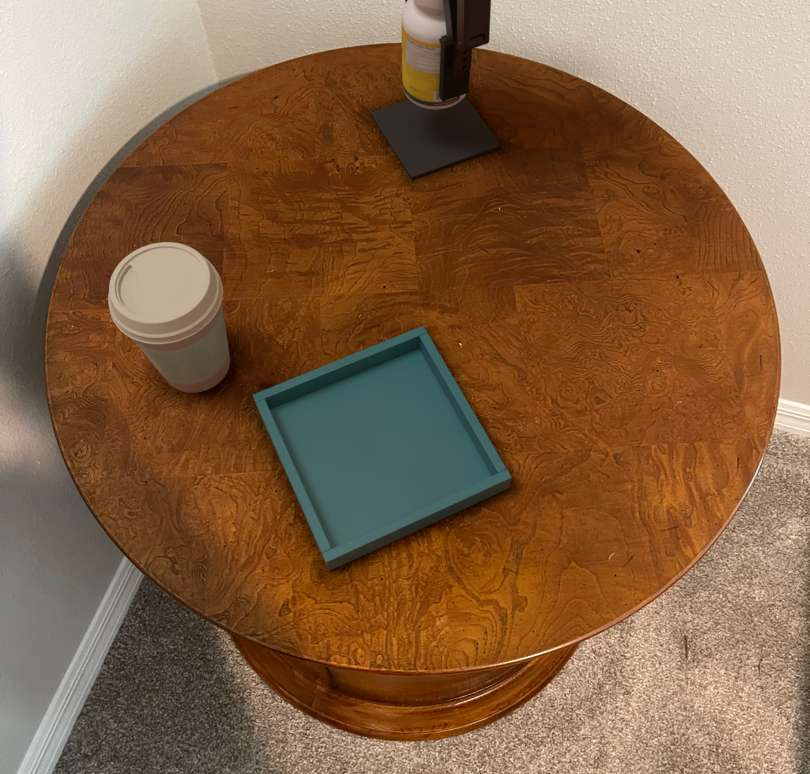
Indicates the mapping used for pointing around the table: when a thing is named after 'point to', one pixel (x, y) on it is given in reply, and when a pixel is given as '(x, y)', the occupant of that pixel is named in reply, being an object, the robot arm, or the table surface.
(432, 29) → the pill bottle
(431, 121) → the mat
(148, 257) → the coffee cup
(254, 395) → the tray
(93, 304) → the table surface
